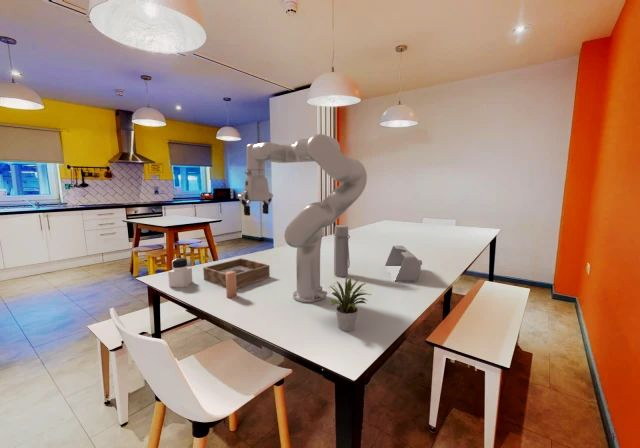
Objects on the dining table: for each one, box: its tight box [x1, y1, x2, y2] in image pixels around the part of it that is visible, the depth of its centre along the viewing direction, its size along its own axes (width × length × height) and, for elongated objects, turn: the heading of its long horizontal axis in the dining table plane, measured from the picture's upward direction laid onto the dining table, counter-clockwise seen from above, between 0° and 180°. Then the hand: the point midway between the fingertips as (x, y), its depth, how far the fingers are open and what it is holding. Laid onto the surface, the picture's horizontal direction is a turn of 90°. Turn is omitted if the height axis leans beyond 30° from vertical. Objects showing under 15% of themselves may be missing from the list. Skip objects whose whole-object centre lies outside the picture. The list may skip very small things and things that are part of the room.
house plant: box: [329, 277, 372, 332], centre depth 88 cm, size 14×14×16 cm
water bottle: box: [333, 224, 351, 278], centre depth 140 cm, size 9×8×25 cm
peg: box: [225, 271, 238, 299], centre depth 115 cm, size 4×4×10 cm
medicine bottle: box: [167, 257, 193, 288], centre depth 128 cm, size 7×7×12 cm
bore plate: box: [219, 266, 252, 274], centre depth 137 cm, size 14×14×2 cm
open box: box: [202, 257, 270, 289], centre depth 137 cm, size 22×22×6 cm
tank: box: [384, 245, 423, 282], centre depth 144 cm, size 25×16×12 cm, turn 178°
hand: (256, 214), depth 122 cm, fingers open, 9 cm apart
